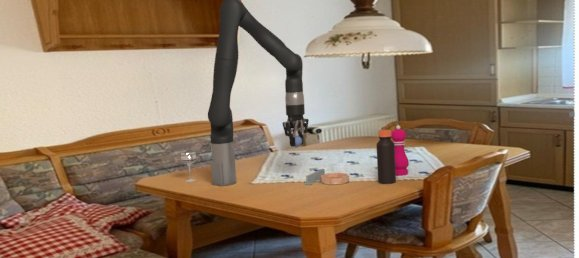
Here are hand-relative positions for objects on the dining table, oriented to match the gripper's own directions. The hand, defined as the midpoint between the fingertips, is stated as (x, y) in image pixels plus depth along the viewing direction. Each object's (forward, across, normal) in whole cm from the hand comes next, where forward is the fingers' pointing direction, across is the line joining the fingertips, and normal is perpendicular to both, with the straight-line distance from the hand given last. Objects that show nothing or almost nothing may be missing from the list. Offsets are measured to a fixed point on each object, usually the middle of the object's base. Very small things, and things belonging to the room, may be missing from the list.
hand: (296, 145), depth 231 cm
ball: (+1, 0, 0) cm, 1 cm away
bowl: (+14, +4, -15) cm, 21 cm away
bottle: (+14, +12, -34) cm, 39 cm away
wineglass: (+15, -21, +44) cm, 51 cm away
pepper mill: (+14, +27, -31) cm, 44 cm away
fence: (+14, +2, -7) cm, 16 cm away
